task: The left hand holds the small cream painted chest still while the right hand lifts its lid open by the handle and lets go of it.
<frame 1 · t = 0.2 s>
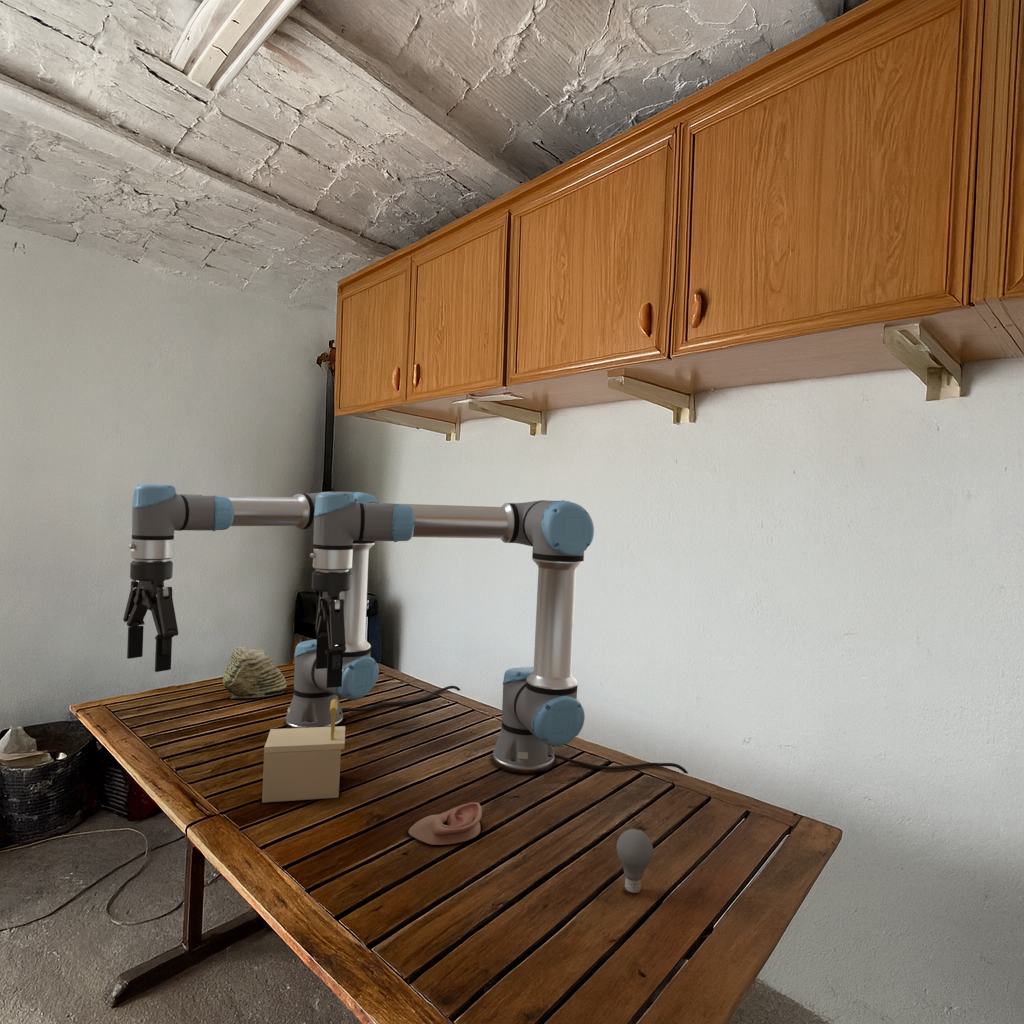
left hand: (148, 663, 129), 28 cm above the table, tool pointing down, fingers open, 13 cm apart
right hand: (328, 677, 125), 28 cm above the table, tool pointing down, fingers open, 13 cm apart
light bulb: (632, 891, 106), on the table
lid: (307, 723, 137), point 14 cm above the table, hinge at 0.0°
chest: (302, 789, 137), on the table
fossil: (254, 694, 198), on the table
anatomical model: (445, 831, 122), on the table
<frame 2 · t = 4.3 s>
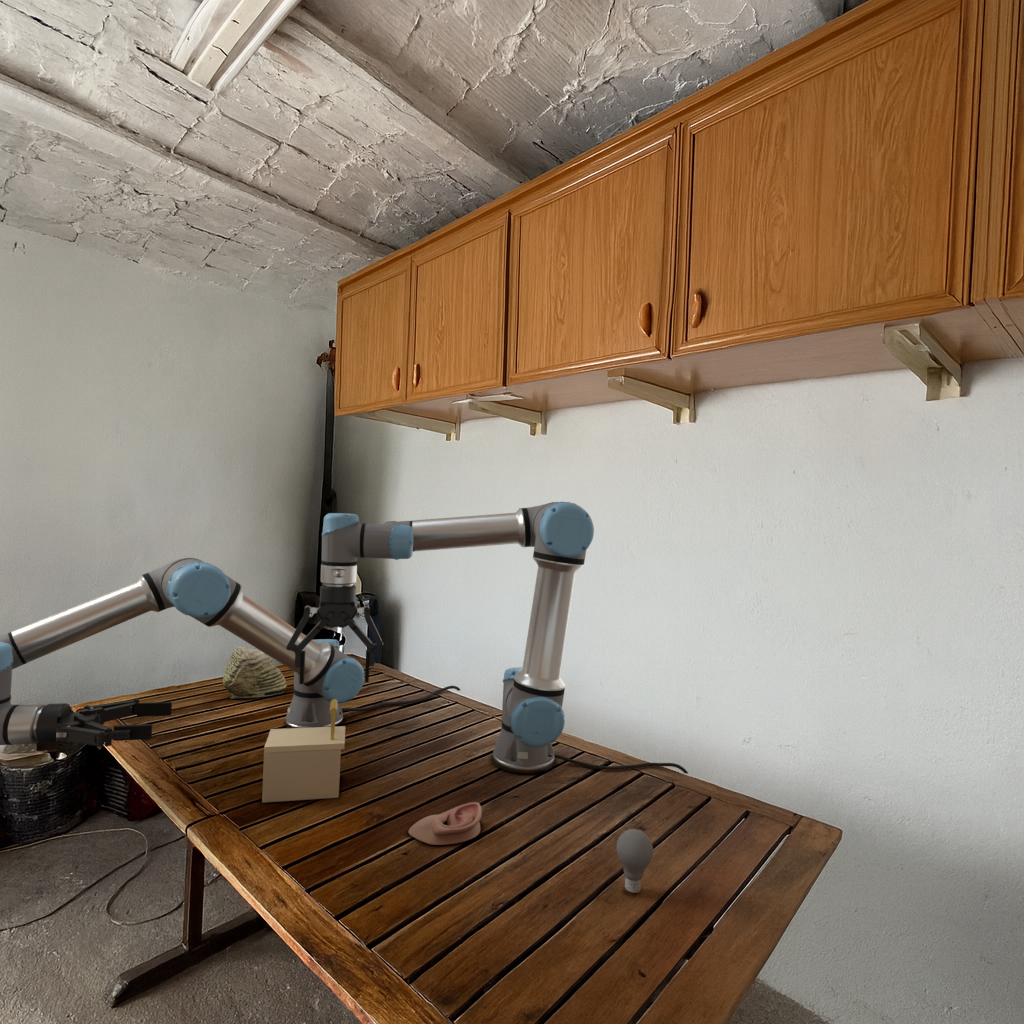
left hand: (162, 719, 130), 16 cm above the table, tool horizontal, fingers open, 13 cm apart
right hand: (334, 681, 138), 23 cm above the table, tool pointing down, fingers open, 13 cm apart
nothing on the table moved.
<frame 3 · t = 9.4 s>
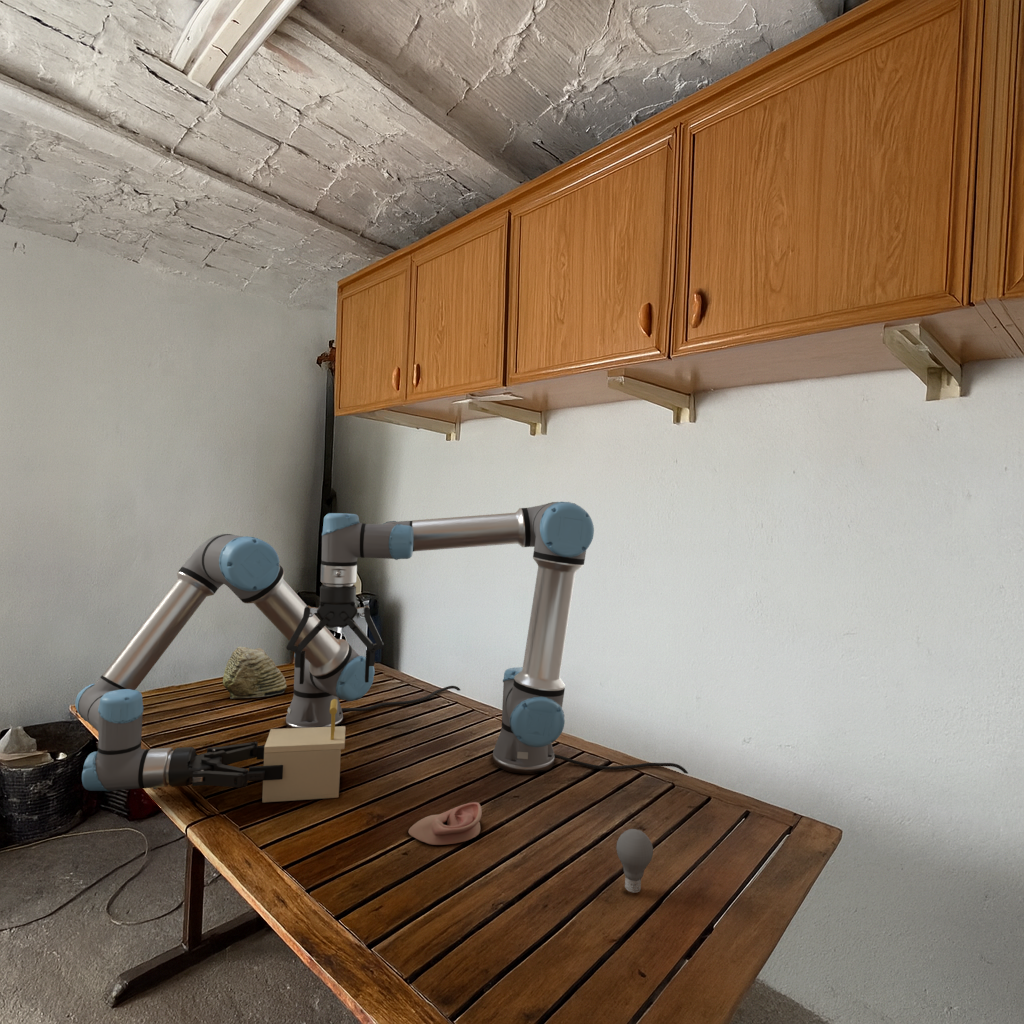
left hand: (285, 761, 136), 6 cm above the table, tool horizontal, fingers closed on chest, 10 cm apart
right hand: (334, 681, 138), 23 cm above the table, tool pointing down, fingers open, 13 cm apart
chest: (302, 789, 137), on the table, touching left hand
everything else where it was.
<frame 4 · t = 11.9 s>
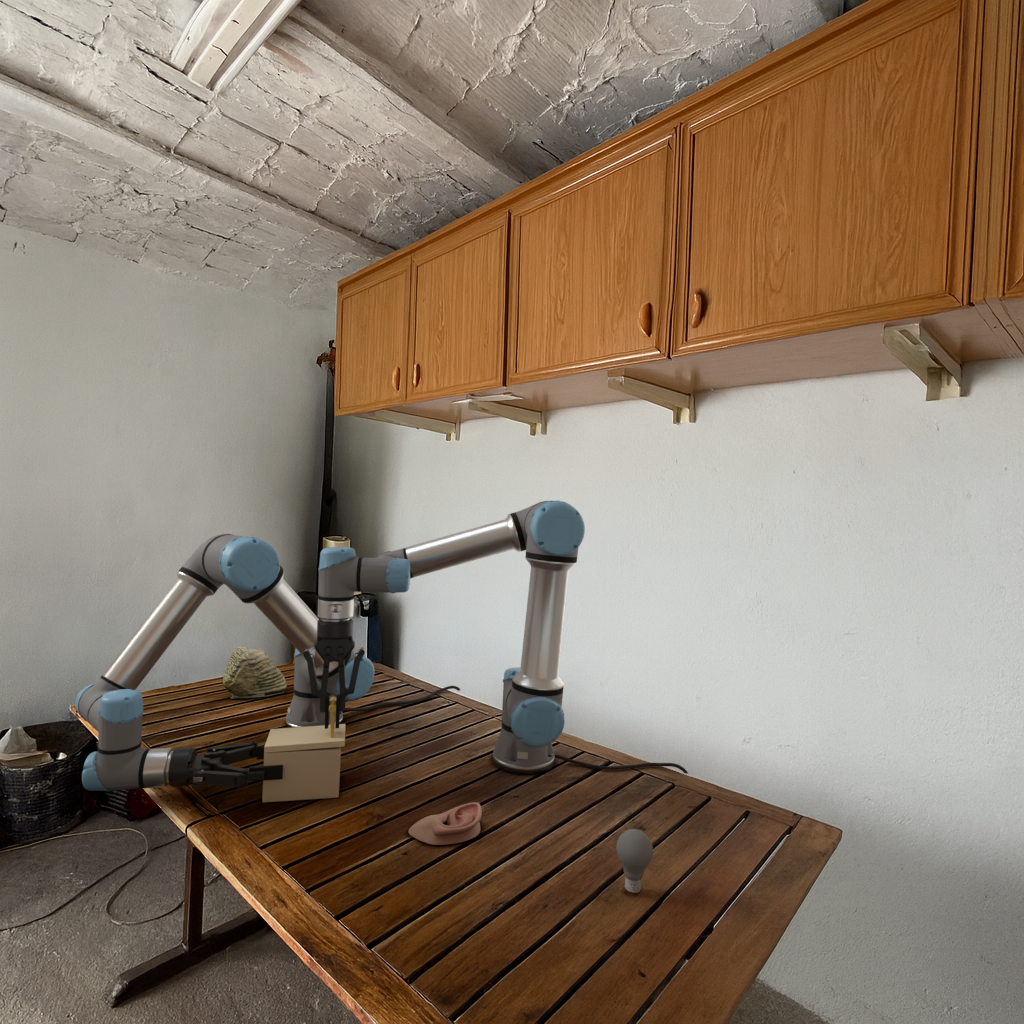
left hand: (285, 761, 136), 6 cm above the table, tool horizontal, fingers closed on chest, 10 cm apart
right hand: (332, 725, 138), 14 cm above the table, tool pointing down, fingers closed on lid, 1 cm apart
lid: (307, 721, 137), point 15 cm above the table, hinge at 1.9°, touching right hand
chest: (302, 789, 137), on the table, touching left hand
everything else where it was.
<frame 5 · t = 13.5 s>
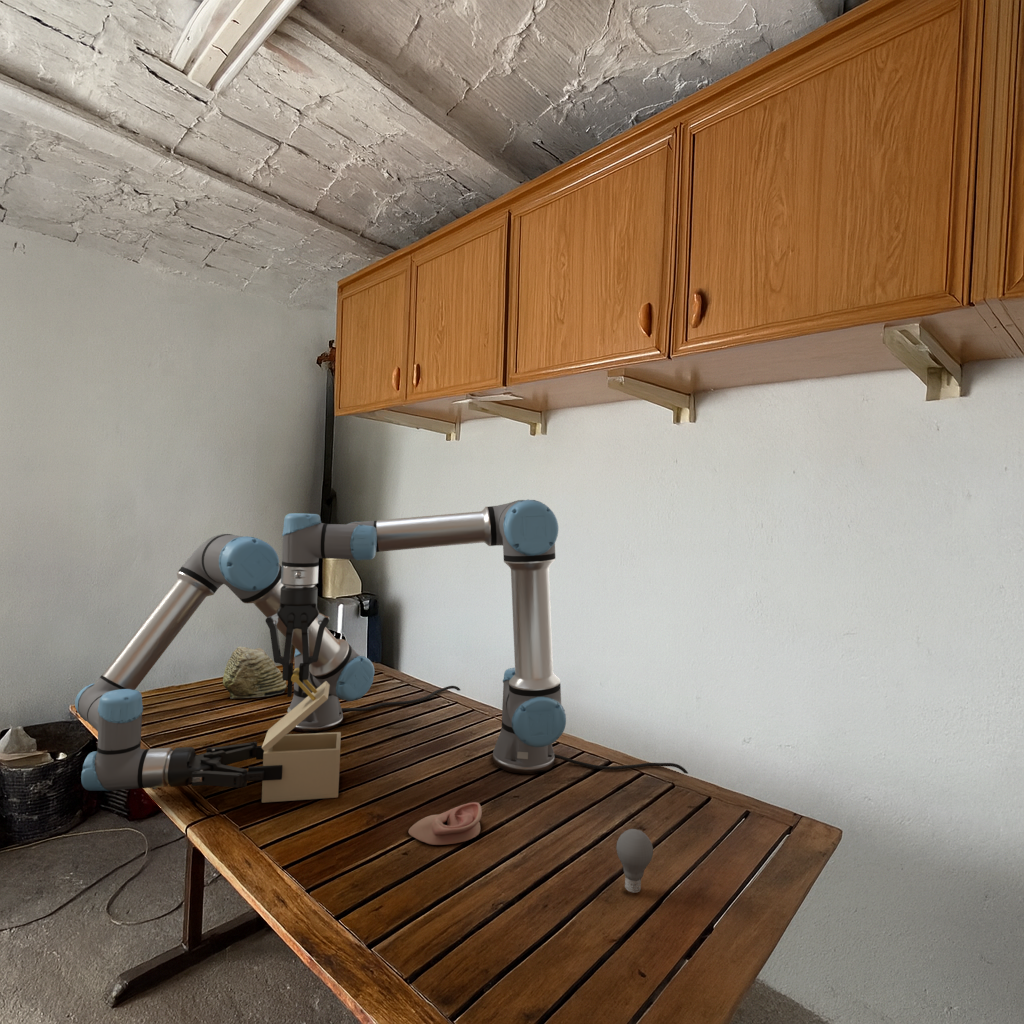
left hand: (284, 761, 136), 6 cm above the table, tool horizontal, fingers closed on chest, 10 cm apart
right hand: (295, 694, 136), 21 cm above the table, tool pointing down, fingers closed on lid, 1 cm apart
lid: (286, 703, 136), point 19 cm above the table, hinge at 41.7°, touching right hand
chest: (302, 789, 137), on the table, touching left hand
everything else where it was.
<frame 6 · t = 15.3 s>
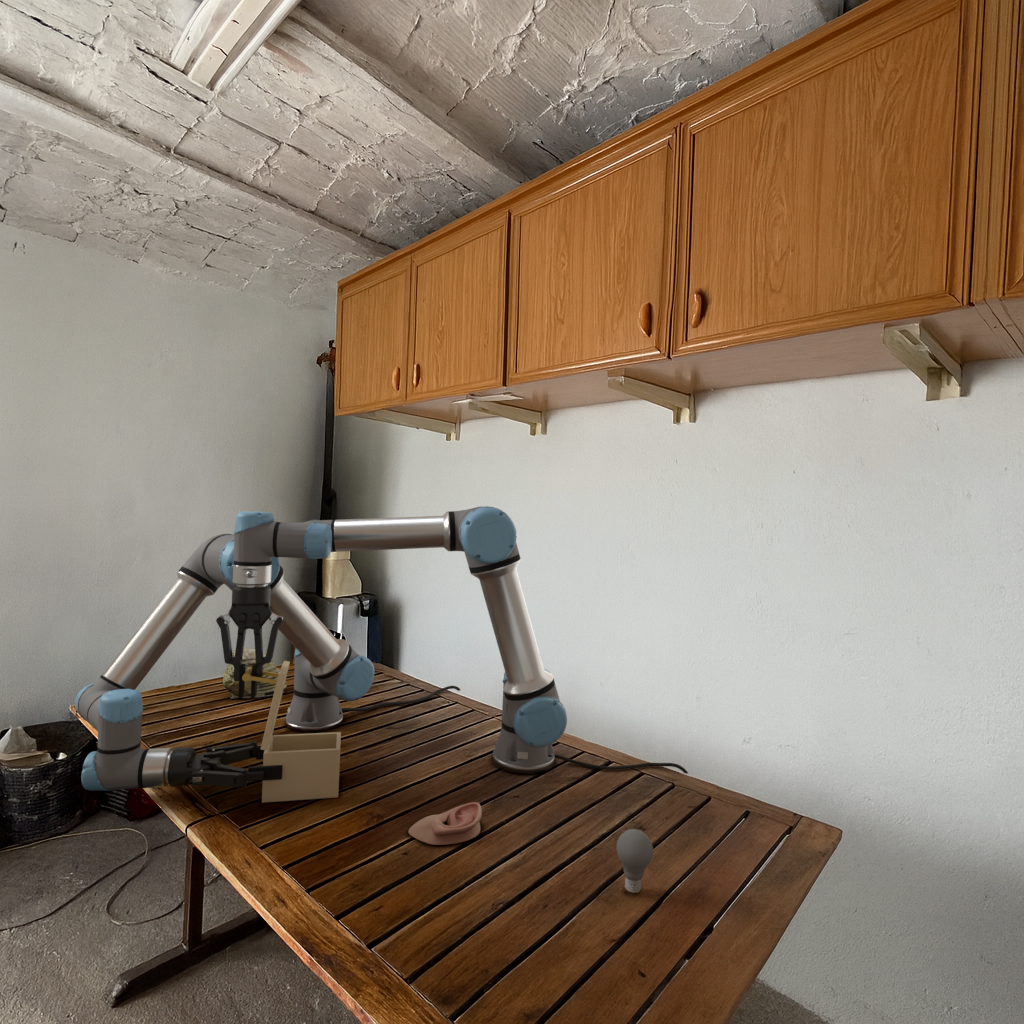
left hand: (284, 761, 136), 6 cm above the table, tool horizontal, fingers closed on chest, 10 cm apart
right hand: (247, 695, 134), 21 cm above the table, tool pointing down, fingers closed
lid: (258, 701, 134), point 19 cm above the table, hinge at 79.1°
chest: (302, 789, 137), on the table, touching left hand
everything else where it was.
when the left hand's fingers open (6 cm above the table, at t = 19.6 s): chest stays where it is, on the table.
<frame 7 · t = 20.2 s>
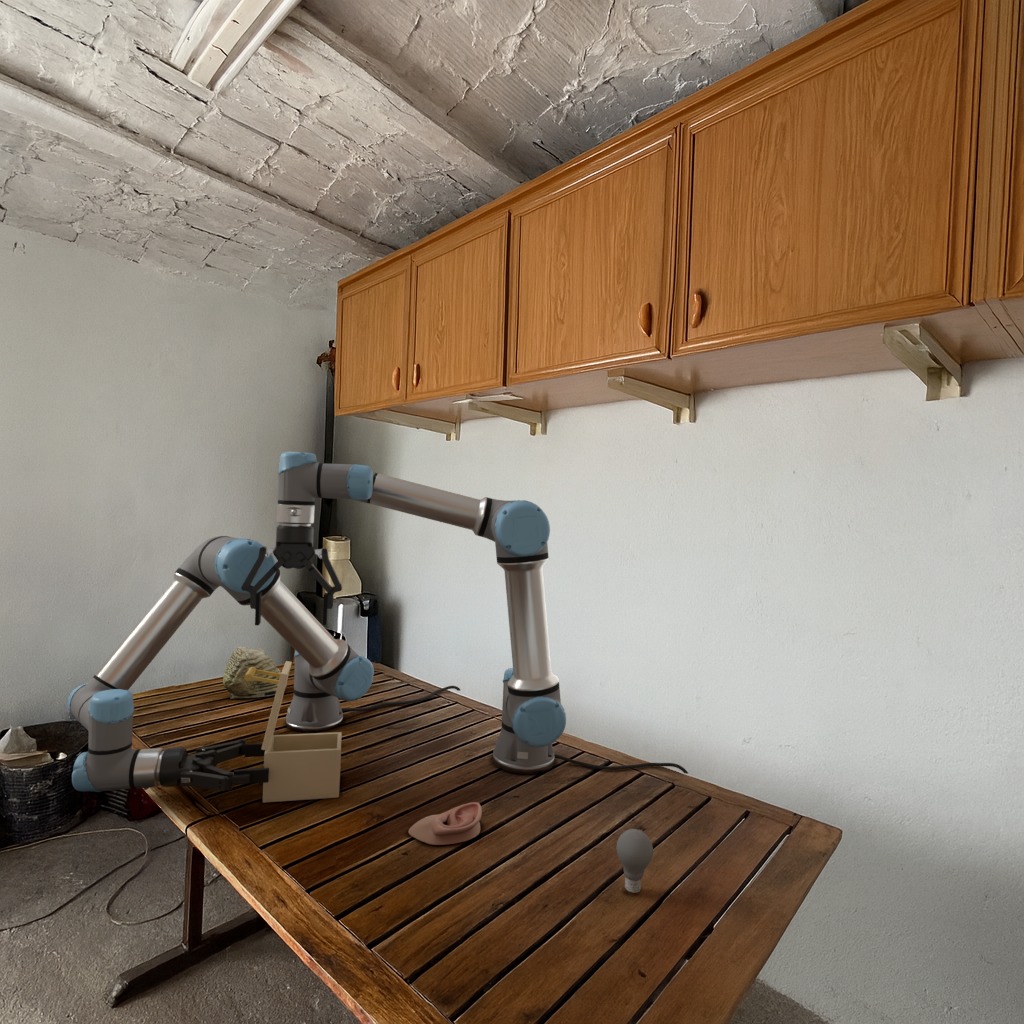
left hand: (272, 761, 135), 6 cm above the table, tool horizontal, fingers open, 13 cm apart
right hand: (291, 624, 135), 36 cm above the table, tool pointing down, fingers open, 13 cm apart
lid: (260, 701, 134), point 19 cm above the table, hinge at 78.1°
chest: (303, 789, 137), on the table
everything else where it was.
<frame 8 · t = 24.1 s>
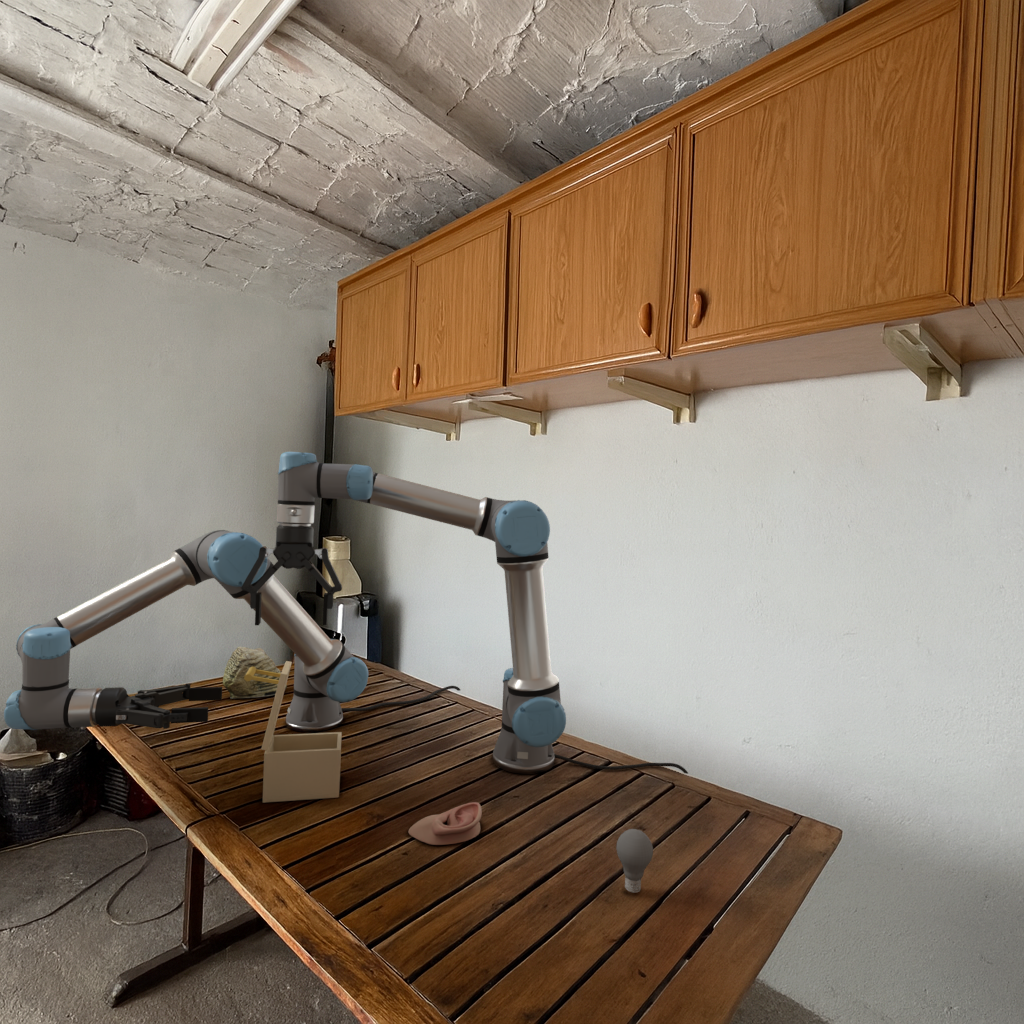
left hand: (215, 703, 132), 19 cm above the table, tool horizontal, fingers open, 13 cm apart
right hand: (291, 624, 135), 36 cm above the table, tool pointing down, fingers open, 13 cm apart
nothing on the table moved.
at the end: lid at +78° (first picture: +0°); the left hand is holding nothing; the right hand is holding nothing; chest tilted 0°; chest never tilted more than 1° during the clip; chest moved 0.1 cm from its start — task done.
